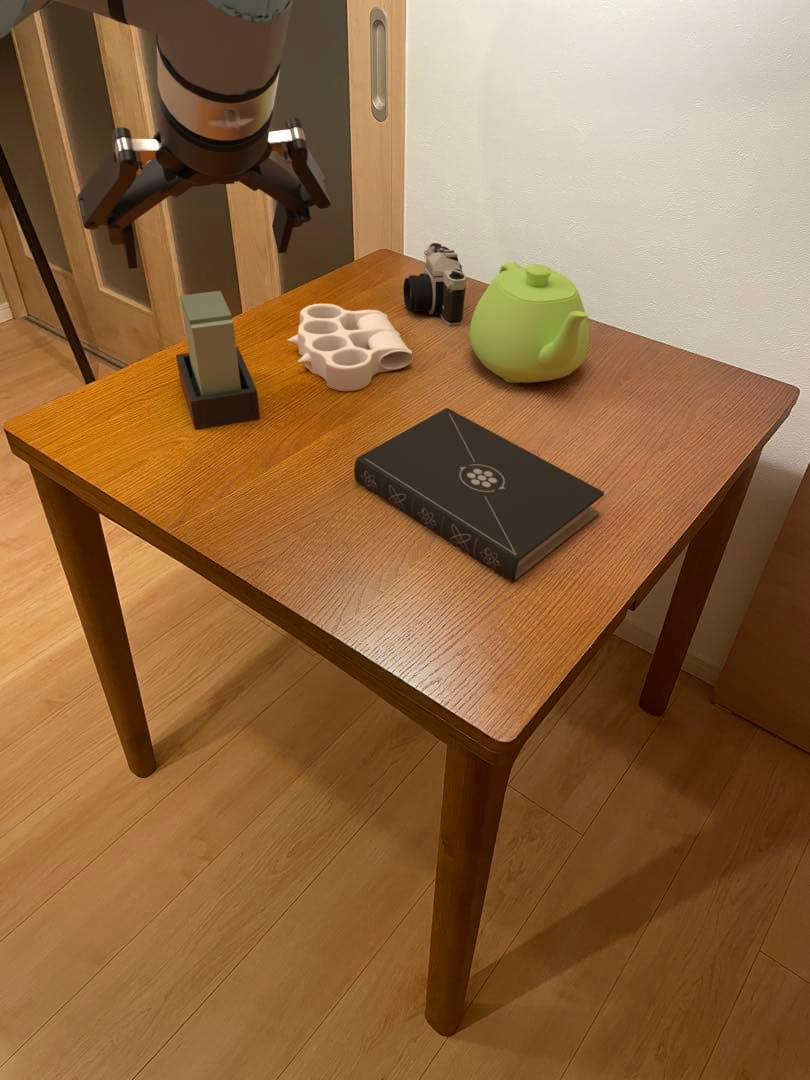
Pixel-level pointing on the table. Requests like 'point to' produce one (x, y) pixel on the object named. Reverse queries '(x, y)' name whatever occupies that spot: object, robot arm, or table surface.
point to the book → (479, 491)
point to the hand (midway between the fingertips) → (206, 246)
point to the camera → (438, 286)
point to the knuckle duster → (348, 345)
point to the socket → (219, 398)
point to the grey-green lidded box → (211, 343)
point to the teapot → (530, 325)
